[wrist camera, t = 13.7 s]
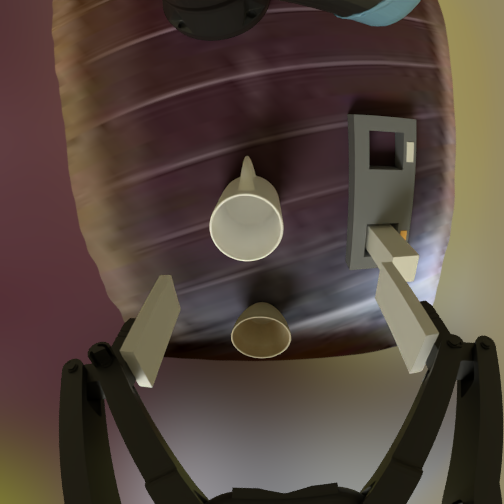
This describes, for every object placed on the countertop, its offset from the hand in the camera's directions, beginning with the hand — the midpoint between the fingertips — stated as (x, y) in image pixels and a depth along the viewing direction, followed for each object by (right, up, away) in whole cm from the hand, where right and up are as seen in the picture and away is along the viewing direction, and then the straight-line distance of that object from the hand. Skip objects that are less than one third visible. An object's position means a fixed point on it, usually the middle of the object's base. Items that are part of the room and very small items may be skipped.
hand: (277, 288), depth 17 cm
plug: (+19, +5, +26) cm, 33 cm away
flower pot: (0, -9, +35) cm, 36 cm away
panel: (+18, +12, +23) cm, 32 cm away
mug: (-2, +11, +25) cm, 27 cm away
